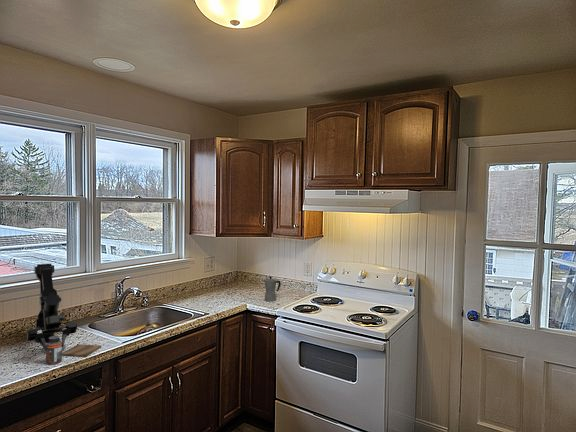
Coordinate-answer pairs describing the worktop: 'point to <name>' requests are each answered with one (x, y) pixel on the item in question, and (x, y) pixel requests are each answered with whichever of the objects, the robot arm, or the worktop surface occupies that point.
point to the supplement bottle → (54, 350)
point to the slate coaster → (45, 351)
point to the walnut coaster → (81, 350)
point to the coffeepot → (271, 289)
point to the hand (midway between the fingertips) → (54, 348)
